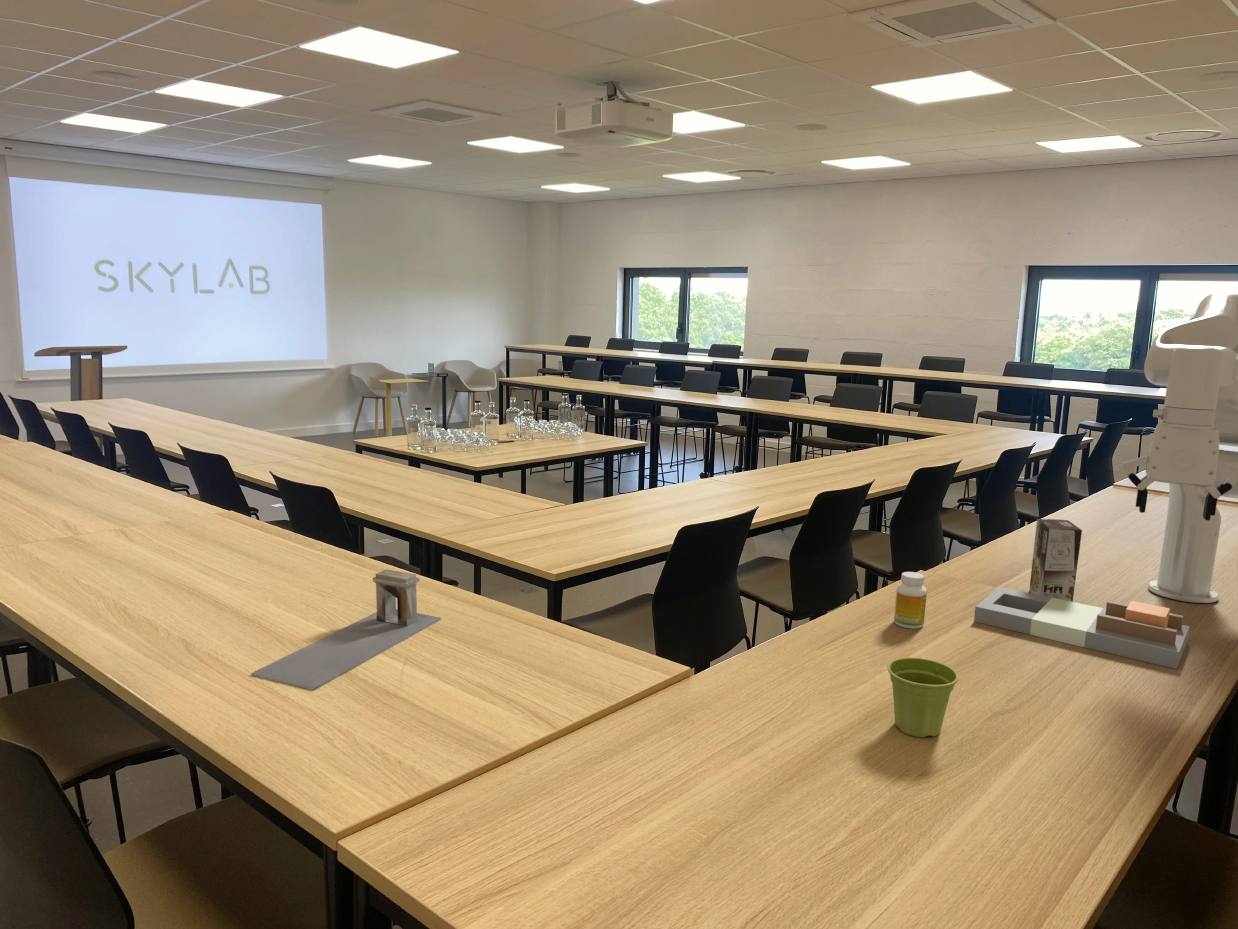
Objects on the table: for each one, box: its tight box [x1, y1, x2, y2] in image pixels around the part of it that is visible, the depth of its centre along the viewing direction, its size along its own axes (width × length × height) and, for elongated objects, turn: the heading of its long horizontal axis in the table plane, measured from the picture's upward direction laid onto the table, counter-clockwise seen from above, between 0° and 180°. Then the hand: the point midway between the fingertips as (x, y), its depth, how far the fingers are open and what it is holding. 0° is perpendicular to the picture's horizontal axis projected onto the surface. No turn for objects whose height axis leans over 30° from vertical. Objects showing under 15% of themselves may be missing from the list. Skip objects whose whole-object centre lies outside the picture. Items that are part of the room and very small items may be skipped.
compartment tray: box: [973, 586, 1191, 670], centre depth 160 cm, size 16×33×6 cm, turn 51°
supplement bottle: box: [893, 571, 928, 630], centre depth 161 cm, size 5×5×10 cm
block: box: [1125, 600, 1171, 628], centre depth 153 cm, size 6×6×4 cm
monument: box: [250, 569, 442, 691], centre depth 146 cm, size 12×33×10 cm, turn 157°
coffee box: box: [1028, 518, 1083, 602], centre depth 178 cm, size 9×6×16 cm
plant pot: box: [886, 656, 960, 738], centre depth 121 cm, size 9×9×9 cm
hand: (1173, 515), depth 151 cm, fingers open, 9 cm apart
